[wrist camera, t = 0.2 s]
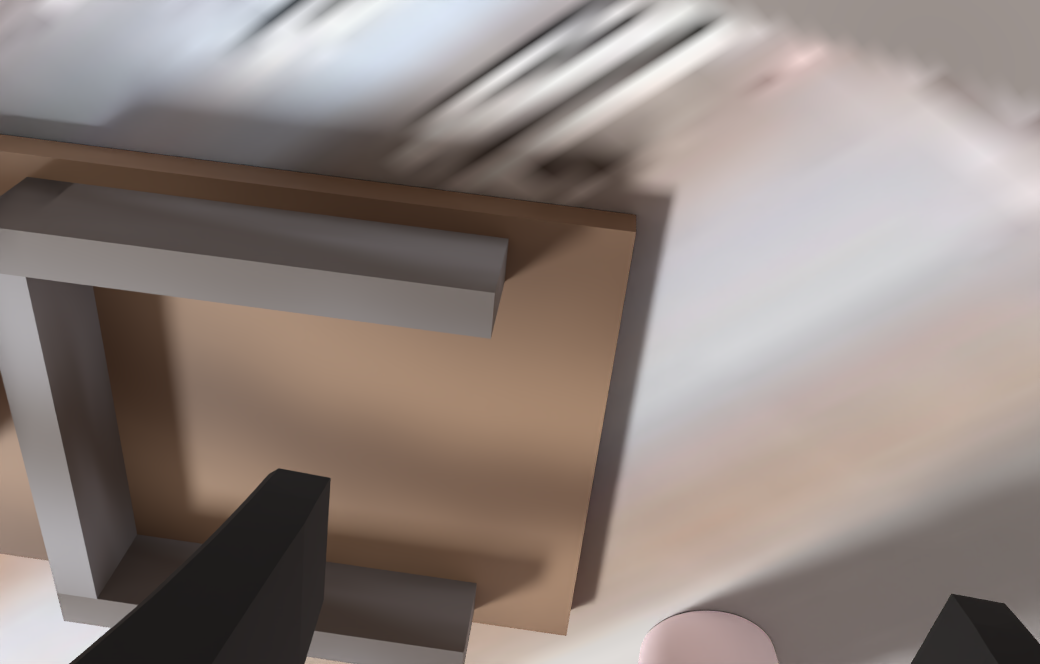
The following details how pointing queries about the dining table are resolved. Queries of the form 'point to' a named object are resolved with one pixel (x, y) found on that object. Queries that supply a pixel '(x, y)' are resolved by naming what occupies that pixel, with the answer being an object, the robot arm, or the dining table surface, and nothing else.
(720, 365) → the dining table surface
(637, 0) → the dining table surface
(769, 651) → the smoothie
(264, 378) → the open-sided grey tray
